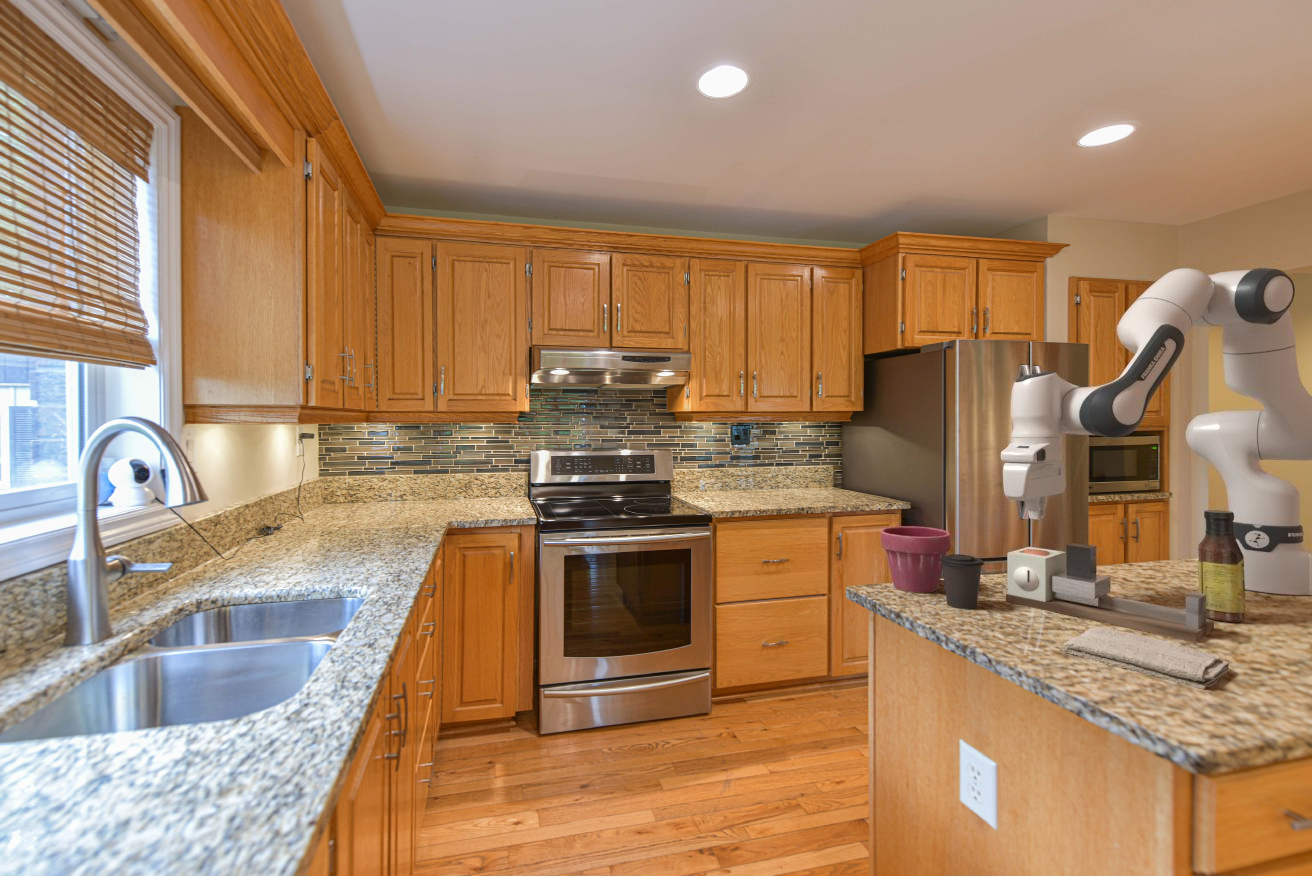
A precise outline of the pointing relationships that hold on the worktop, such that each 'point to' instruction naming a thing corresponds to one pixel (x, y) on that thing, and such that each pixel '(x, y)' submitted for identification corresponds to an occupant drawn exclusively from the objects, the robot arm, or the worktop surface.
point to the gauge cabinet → (1033, 573)
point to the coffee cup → (961, 580)
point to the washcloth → (1149, 656)
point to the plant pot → (915, 556)
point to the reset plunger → (1037, 552)
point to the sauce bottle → (1221, 569)
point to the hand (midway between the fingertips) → (1036, 518)
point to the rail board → (1135, 614)
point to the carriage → (1081, 577)
